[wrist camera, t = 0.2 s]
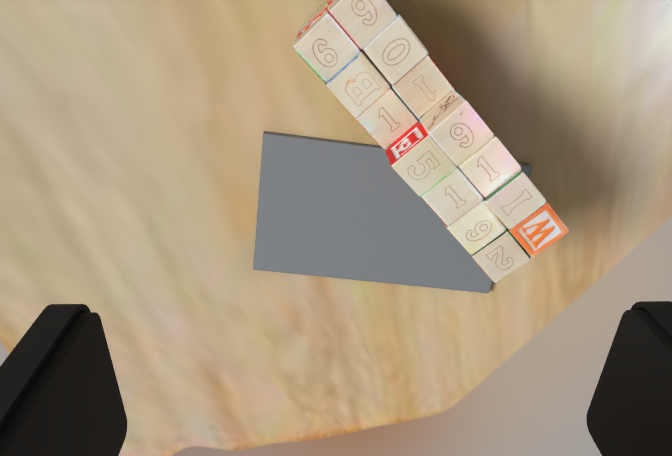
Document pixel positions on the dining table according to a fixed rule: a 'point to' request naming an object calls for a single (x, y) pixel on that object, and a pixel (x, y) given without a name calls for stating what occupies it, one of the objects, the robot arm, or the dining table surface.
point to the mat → (352, 219)
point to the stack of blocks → (429, 132)
